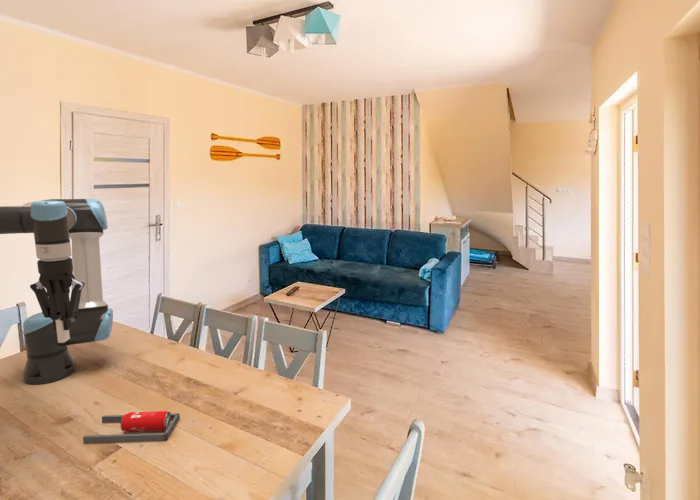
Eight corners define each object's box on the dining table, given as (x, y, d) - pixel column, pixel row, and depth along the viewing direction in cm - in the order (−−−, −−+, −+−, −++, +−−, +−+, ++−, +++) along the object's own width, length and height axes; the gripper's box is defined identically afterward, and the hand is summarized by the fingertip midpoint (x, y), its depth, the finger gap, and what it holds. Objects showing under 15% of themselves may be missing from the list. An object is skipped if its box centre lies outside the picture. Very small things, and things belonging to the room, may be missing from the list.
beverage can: (130, 414, 114) (172, 412, 115) (125, 433, 111) (168, 431, 112) (123, 410, 109) (166, 409, 110) (118, 430, 106) (163, 428, 108)
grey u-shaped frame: (83, 443, 105) (82, 437, 104) (103, 421, 115) (103, 415, 114) (166, 440, 107) (166, 434, 106) (179, 418, 116) (179, 413, 116)
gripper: (18, 261, 99) (29, 346, 103) (71, 261, 100) (80, 346, 104) (39, 255, 107) (48, 335, 111) (88, 255, 108) (96, 335, 112)
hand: (64, 340), depth 107 cm, fingers closed
